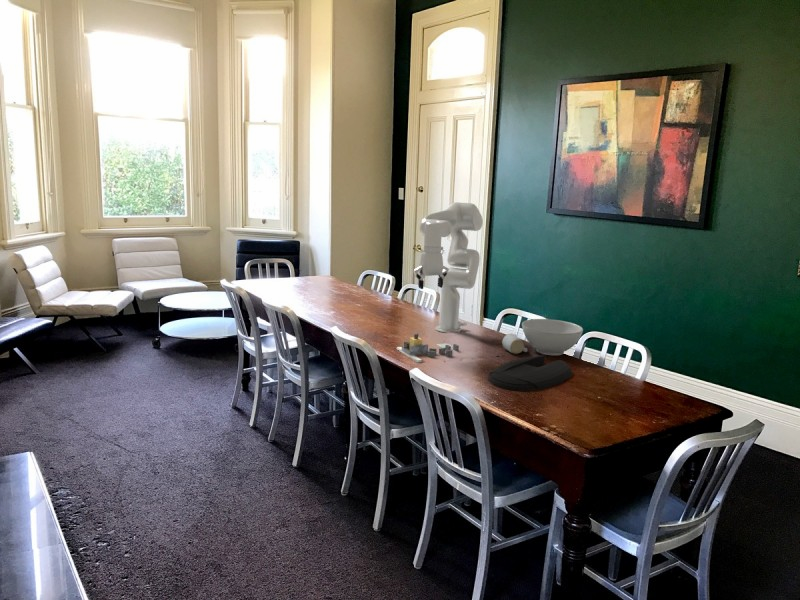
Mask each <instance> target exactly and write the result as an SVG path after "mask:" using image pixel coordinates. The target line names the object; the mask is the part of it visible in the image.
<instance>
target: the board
mask: <svg viewBox="0 0 800 600" xmlns="http://www.w3.org/2000/svg"><path fill="white" fill-rule="evenodd" d="M435 345H437V346H438V347H440V348H434V347H433V348H432V347H429V348H428V354H427V358H436V355H437V352H438V355H439V356H441V355H445V358H448V357H452V356H453V351H454V352H459V348H460V345H458V344H457V343H453V345H451V344H449V343H437V344H435ZM402 347H403V346H397V347H396V350H397V351H398V350H399V351H398V352H401V354H403V355H404V356H406V357H408V358H409V357H410V358H409V359H411V360H413V361H414V362H416V363H417V364H418V363H425V362H426V361H424V360H423V359H421V358H419V357H418V356H417V355H408V354H407V353H405V352H404V351H402ZM437 350H438V351H437Z"/></svg>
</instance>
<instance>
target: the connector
mask: <svg viewBox="0 0 800 600" xmlns="http://www.w3.org/2000/svg"><path fill="white" fill-rule="evenodd" d="M409 341H410V345H409V350H410V346H411V345H423V339H422V338H421V337H420V336H419V333H416V332H415V333H413V336H412V337H409Z"/></svg>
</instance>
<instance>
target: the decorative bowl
mask: <svg viewBox="0 0 800 600" xmlns="http://www.w3.org/2000/svg"><path fill="white" fill-rule="evenodd" d="M521 327H522V332H523V335H524V337H525V338H526V340H527V342H528V344H530V345H531V346H532V347H533V348H534V349H535V351H536V352H537V353H538V354H541V355H544V356H546V355H547V356H561V355H563V354H565V352H566V351H568V350H570V349H571V348H573V347H574V346H575V345H576V344H577V343H578V341H579V340H580V338H581V337H582V335H583V331H584V329H583V327H582V326H581V325H578V324H575V323H573V322H570V321H569V322H568V321H564V320H558V319H549V318H532V319H526V320H524V321H522V323H521Z"/></svg>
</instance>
